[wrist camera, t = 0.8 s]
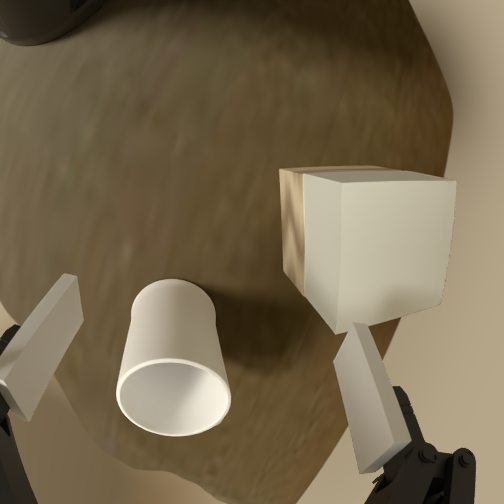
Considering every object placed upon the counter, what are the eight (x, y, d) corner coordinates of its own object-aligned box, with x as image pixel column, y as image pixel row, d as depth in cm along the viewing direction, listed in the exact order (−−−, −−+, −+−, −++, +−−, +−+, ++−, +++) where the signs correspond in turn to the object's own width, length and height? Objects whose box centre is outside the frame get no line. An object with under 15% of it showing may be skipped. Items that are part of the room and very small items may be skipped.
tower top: (303, 173, 22) (341, 183, 17) (407, 170, 24) (456, 180, 18) (304, 296, 26) (335, 334, 20) (400, 276, 27) (440, 304, 22)
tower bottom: (278, 168, 28) (302, 174, 22) (371, 165, 30) (407, 171, 24) (282, 270, 31) (304, 296, 26) (368, 256, 33) (399, 277, 27)
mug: (241, 352, 33) (268, 435, 22) (174, 381, 33) (178, 466, 22) (191, 263, 29) (198, 335, 18) (115, 300, 28) (88, 381, 17)
